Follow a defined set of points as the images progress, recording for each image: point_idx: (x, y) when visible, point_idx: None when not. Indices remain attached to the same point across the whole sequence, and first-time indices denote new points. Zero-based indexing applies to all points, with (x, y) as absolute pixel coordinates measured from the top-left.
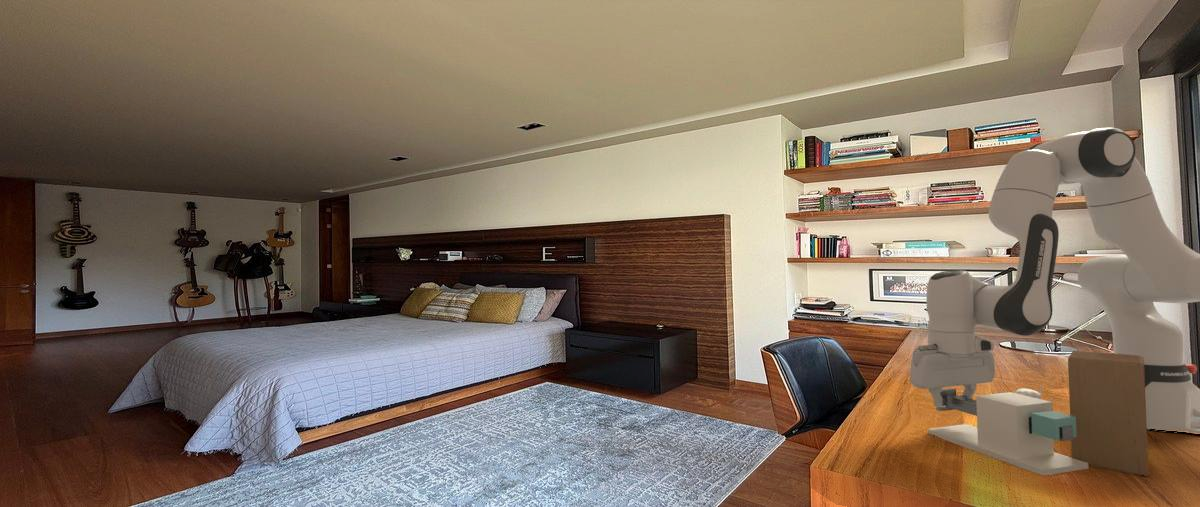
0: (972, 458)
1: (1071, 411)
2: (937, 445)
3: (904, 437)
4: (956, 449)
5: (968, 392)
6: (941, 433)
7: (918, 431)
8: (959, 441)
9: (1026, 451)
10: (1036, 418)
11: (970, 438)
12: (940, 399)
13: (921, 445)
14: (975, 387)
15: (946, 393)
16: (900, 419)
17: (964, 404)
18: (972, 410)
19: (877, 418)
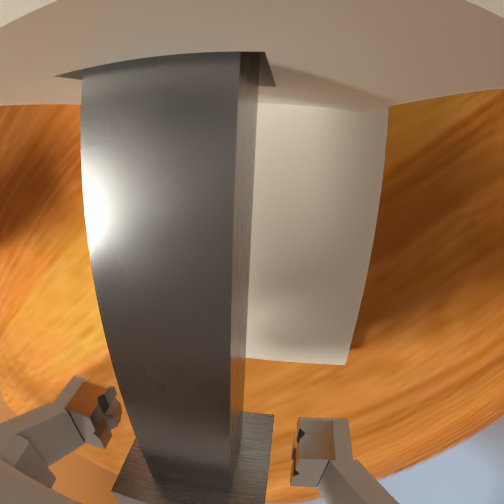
0: None
1: None
2: (453, 238)
3: (456, 345)
4: (434, 168)
5: (55, 434)
6: (352, 306)
7: (347, 377)
8: (378, 200)
9: None
10: None
11: (296, 198)
12: (355, 461)
13: (494, 263)
14: (2, 432)
15: (201, 494)
16: (274, 454)
17: (235, 359)
18: (245, 265)
19: None
